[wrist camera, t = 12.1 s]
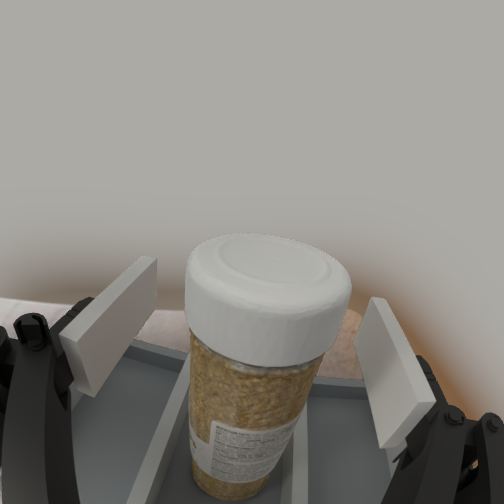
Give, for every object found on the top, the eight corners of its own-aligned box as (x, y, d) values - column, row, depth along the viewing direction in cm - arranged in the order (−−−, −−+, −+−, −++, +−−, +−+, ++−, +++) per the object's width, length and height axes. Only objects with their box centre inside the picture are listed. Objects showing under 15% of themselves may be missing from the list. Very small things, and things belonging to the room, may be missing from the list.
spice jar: (195, 436, 15) (203, 221, 10) (269, 444, 15) (333, 239, 10) (185, 498, 10) (164, 284, 5) (270, 506, 11) (382, 309, 6)
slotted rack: (15, 499, 6) (-17, 474, 5) (109, 353, 21) (103, 319, 20) (405, 571, 5) (443, 559, 4) (376, 402, 20) (394, 372, 19)
